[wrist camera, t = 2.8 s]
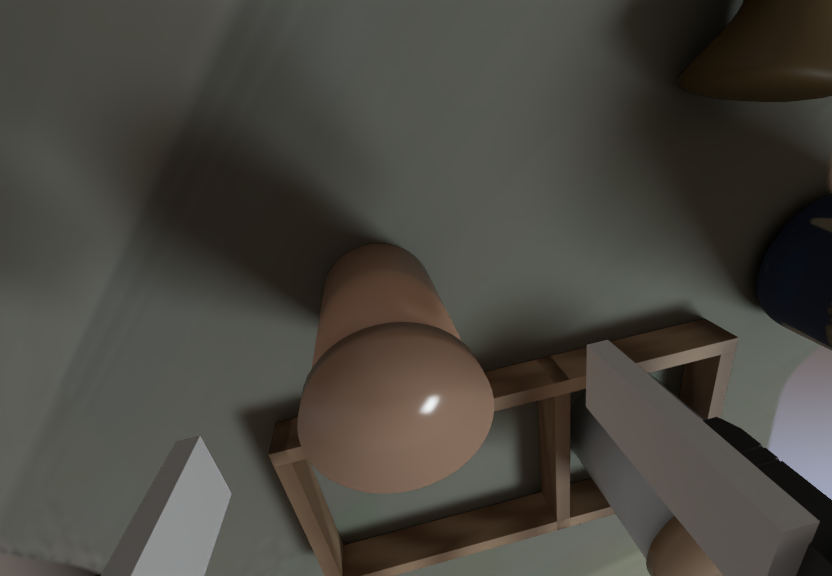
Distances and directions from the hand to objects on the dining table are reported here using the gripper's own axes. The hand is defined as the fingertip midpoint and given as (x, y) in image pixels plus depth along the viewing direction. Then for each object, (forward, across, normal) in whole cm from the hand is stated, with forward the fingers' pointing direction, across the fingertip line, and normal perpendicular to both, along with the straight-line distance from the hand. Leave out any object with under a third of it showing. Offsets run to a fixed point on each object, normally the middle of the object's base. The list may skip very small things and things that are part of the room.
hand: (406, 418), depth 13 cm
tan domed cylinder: (+10, 0, 0) cm, 10 cm away
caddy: (+10, +7, -14) cm, 18 cm away
